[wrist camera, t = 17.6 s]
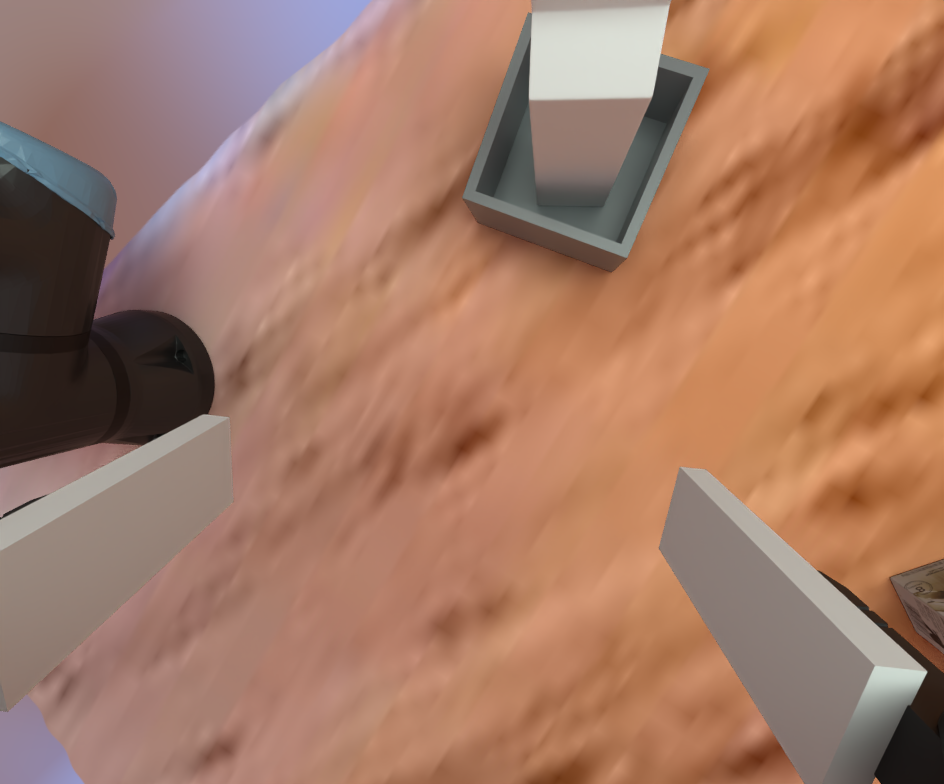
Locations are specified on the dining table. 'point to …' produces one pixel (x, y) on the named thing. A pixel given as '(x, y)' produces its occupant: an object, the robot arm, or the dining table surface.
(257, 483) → the dining table surface
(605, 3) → the milk
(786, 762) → the dining table surface
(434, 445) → the dining table surface
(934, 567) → the coffee box
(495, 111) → the tray
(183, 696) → the dining table surface
